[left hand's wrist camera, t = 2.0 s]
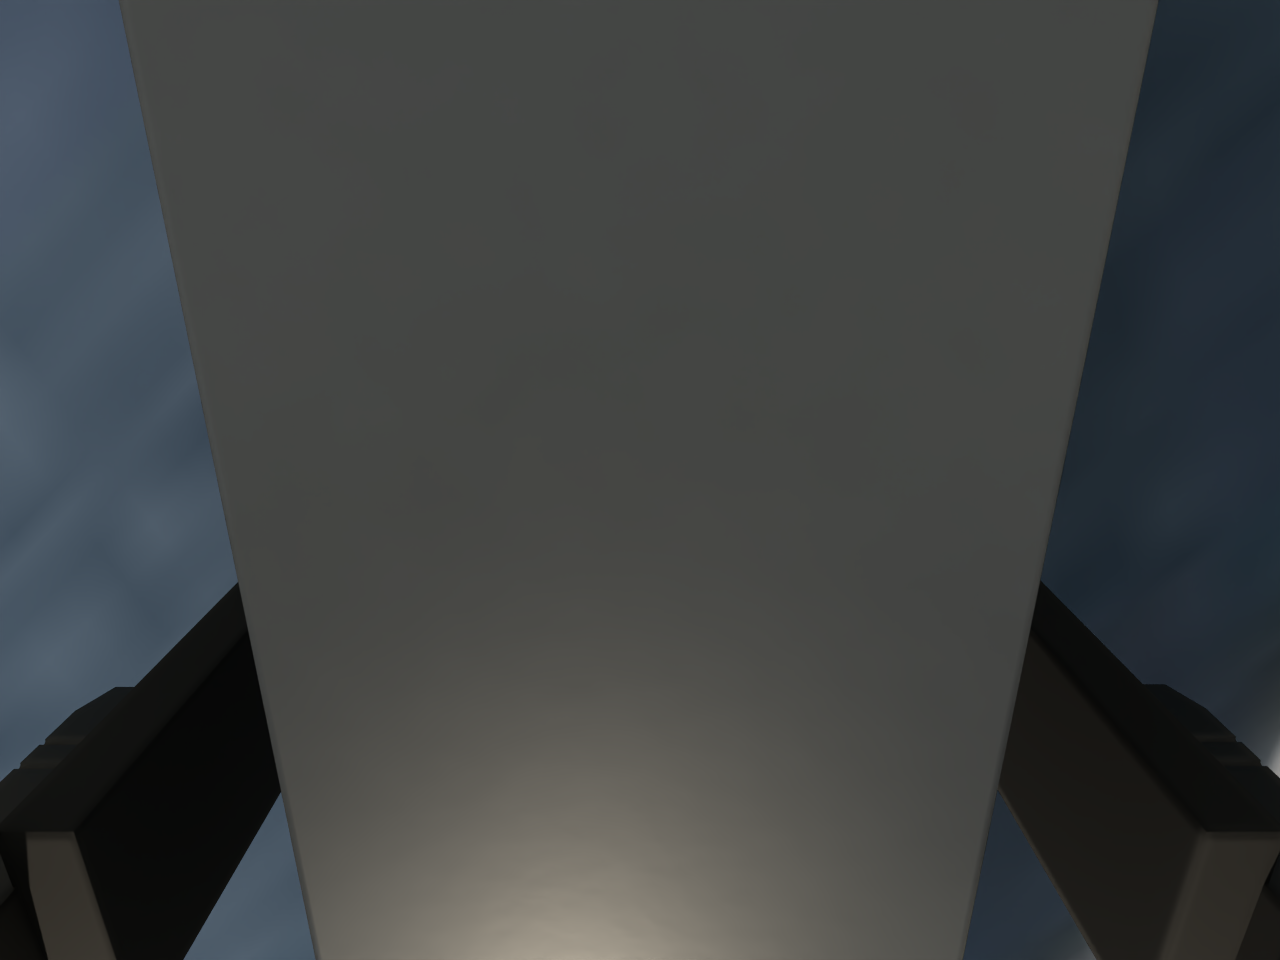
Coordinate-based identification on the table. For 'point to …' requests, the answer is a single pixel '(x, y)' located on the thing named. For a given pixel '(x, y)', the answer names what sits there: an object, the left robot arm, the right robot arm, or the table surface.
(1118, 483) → the table surface
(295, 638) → the bar
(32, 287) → the table surface
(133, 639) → the table surface
